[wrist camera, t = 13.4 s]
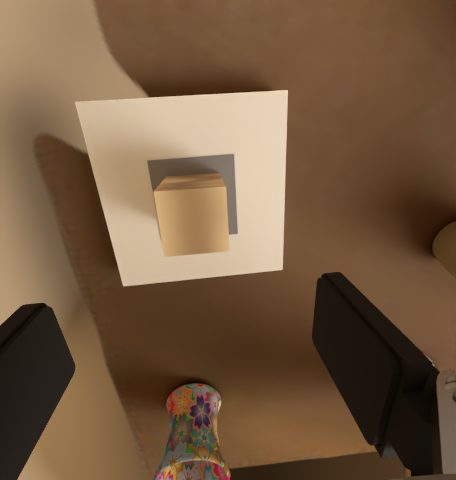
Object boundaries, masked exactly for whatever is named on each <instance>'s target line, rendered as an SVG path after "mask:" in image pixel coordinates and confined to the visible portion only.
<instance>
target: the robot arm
mask: <svg viewBox="0 0 456 480" xmlns="http://www.w3.org/2000/svg"><path fill="white" fill-rule="evenodd" d="M312 339H313V343H314V345H315V347H316V349H317V351H318V353H319V355H320V356H321V358H322V360H323V362H324V364H325V366H326V368H327V369H328V371H329V373H330V375H331V377H332V379H333V380H334V382H335V384H336V386H337V388H338V390H339V392H340V393H341V395H342V397H343V399H344V401H345V403H346V405H347V406H348V408H349V410H350V412H351V414H352V416H353V418H354V419H355V421H356V423H357V425H358V427H359V429H360V430H361V432H362V434H363V436H364V438H365V439H366V441H367V442H368V444H370V445H374V446H375V448H376V450H377V451H378V453H379V455H380V457H381V458H388V457H394V456H398V457H399V459H400V460H401V462H402V463H403V465H404V467H405V468H406V477H405V478H398V479H391V480H456V370H452V369H450V370H445V371H442V372H441V373H440V372H439V371H438V370H437V369H436V368H435V367H434V364H433V362H432V361H431V360H430V359H429V358H428V357H427V356H426V355H425V354H424V353H422V352H421V351H420V350H419V349H418V348H417V347H416V346H415V345H414V344H413V343H412V342H411V341H410V340H409V339H408V338H407V337H406V336H405V335H404V334H403V333H402V332H401V331H400V330H399V329H398V328H397V327H396V326H395V325H394V324H393V323H392V322H391V321H390V320H389V319H388V318H387V317H386V316H385V315H383V314H382V313H381V312H380V311H379V310H378V309H377V308H376V307H375V306H374V305H373V304H372V303H371V302H370V301H369V300H368V299H367V298H366V297H365V296H364V295H363V294H362V293H361V292H360V291H359V290H358V289H357V288H356V287H355V286H354V285H353V284H352V283H351V282H350V281H349V280H348V279H347V278H346V277H345V276H344V275H343V274H342V273H340V272H334V273H324V274H323V275H322V277H321V278H318V280H317V288H316V299H315V309H314V320H313V331H312ZM74 371H75V363H74V361H73V358H72V356H71V353H70V351H69V348H68V346H67V343H66V341H65V339H64V336H63V334H62V331H61V329H60V326H59V324H58V321H57V319H56V316H55V314H54V312H53V309H52V308H51V307H48V306H47V305H46V304H45V303H36V304H26V305H23V306H21V307H20V308H19V309H18V310H16V311H15V312H14V313H13V314H12V315H11V316H10V317H9V318H8V319H7V320H6V321H5V322H4V323H3V324H1V325H0V480H17V479H18V477H19V475H20V473H21V471H22V470H23V468H24V466H25V464H26V462H27V460H28V458H29V456H30V455H31V453H32V451H33V449H34V447H35V445H36V443H37V442H38V440H39V438H40V436H41V434H42V432H43V430H44V429H45V427H46V425H47V423H48V421H49V419H50V418H51V416H52V414H53V412H54V410H55V408H56V406H57V404H58V403H59V401H60V399H61V397H62V395H63V393H64V391H65V390H66V388H67V386H68V384H69V382H70V380H71V378H72V377H73V374H74Z"/></svg>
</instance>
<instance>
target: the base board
mask: <svg viewBox="0 0 456 480" xmlns="http://www.w3.org/2000/svg"><path fill="white" fill-rule="evenodd" d="M287 101H288V90H281V91H263V92H244V93H225V94H207V95H188V96H170V97H151V98H133V99H114V100H95V101H77V102H75V105H76V109H77V112H78V117H79V121H80V124H81V128H82V132H83V136H84V139H85V143H86V147H87V151H88V155H89V158H90V162H91V166H92V170H93V174H94V177H95V181H96V185H97V189H98V193H99V196H100V200H101V204H102V208H103V211H104V215H105V219H106V223H107V227H108V230H109V234H110V238H111V242H112V246H113V249H114V253H115V257H116V261H117V264H118V268H119V272H120V276H121V280H122V283H123V286H132V285H142V284H151V283H161V282H170V281H180V280H190V279H199V278H209V277H218V276H228V275H238V274H247V273H257V272H266V271H276V270H283V238H284V204H285V169H286V135H287ZM208 173H220V175H221V177H222V179H223V181H224V183H225V185H226V193H227V211H228V229H229V248H230V251H226V252H215V253H203V254H192V255H181V256H170V257H164V251H163V246H162V240H161V234H160V228H159V222H158V216H157V210H156V204H155V198H154V190H155V189H156V188H157V187H158V186H159V184H160V183H161V182H162V181H163V180H164V179H165V177H166V176H179V175H194V174H208Z"/></svg>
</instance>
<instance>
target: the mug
mask: <svg viewBox="0 0 456 480" xmlns="http://www.w3.org/2000/svg"><path fill="white" fill-rule="evenodd" d="M166 405H167V410H168V413H169V417H170V431H169V438H168V443H167V446H166V450H165V453H164V456H163V458H162V461H161V463H160V465H159V467H158V470H157V471H156V473H155V476H154V479H153V480H230V471H229V468H228V466H227V464H226V462H225V459H224V457H223V454H222V451H221V448H220V444H219V440H218V434H217V416H218V411H219V408H220V406H221V397H220V395H219V393H218V392H217V391H216V390H215V389H214V388H213V387H211V386H209V385H206V384H201V383H192V384H186V385H183V386H181V387H179V388H177V389H176V390H174V391H173V392H172V393H171V394H170V396H169V397H168V400H167V404H166Z"/></svg>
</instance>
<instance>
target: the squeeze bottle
mask: <svg viewBox="0 0 456 480" xmlns="http://www.w3.org/2000/svg"><path fill="white" fill-rule="evenodd" d="M432 250H433V254H434V256H435V257H436V258H437V259H438V260H439V261H440V262H441V263H442V265H443V266H444V267H445V268H446V269H447V270H448V271H449V272H450V274H451V275H452V276H453V277H454V278H455V279H456V221H454V222H452V223H450V224H448V225H446V226H445V227H444V228H443V229H442V230H440V231H439V233H438V234H437V236H436V237H435V239H434V242H433V245H432Z"/></svg>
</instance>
